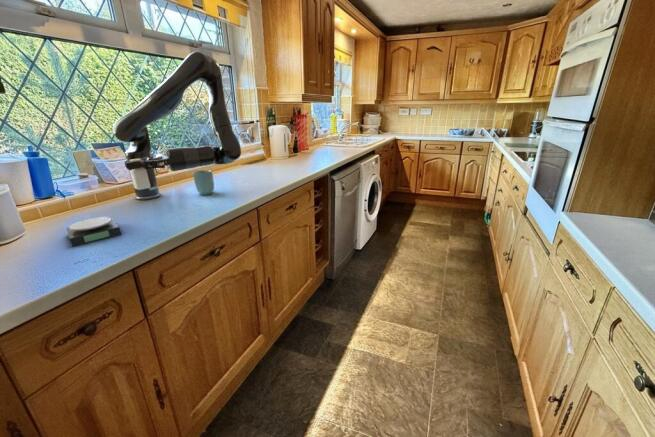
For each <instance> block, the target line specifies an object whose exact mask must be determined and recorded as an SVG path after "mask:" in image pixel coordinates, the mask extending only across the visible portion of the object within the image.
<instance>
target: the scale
mask: <svg viewBox="0 0 655 437" xmlns="http://www.w3.org/2000/svg"><path fill="white" fill-rule="evenodd" d="M65 230H66V232H67V236H68V238H69V241H70V243H71V246H72V247H77V246H81V245H84V244H89V243H93V242H97V241H101V240H104V239H108V238H112V237H117V236H119V235H122V232H121V228H120V226H119V225H118V224H117V222H116V220H114V219H113V217H108V216H98V217H91V218H87V219H83V220H80V221H77V222H74V223H73V224H71V225H69V227H68V226H67V227H66V229H65Z"/></svg>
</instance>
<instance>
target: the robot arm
mask: <svg viewBox="0 0 655 437" xmlns="http://www.w3.org/2000/svg"><path fill="white" fill-rule="evenodd" d="M197 81H200V82H202V83H204V85H205V87H206V89H207V90H206V91H207V92H208V97H209V103H208V105H209V106H208V119H209V122H210V126H211V129H212V132H213V135H214V136H215V138H216V139H218V141H219V144H220V146H210V145H202V146H201V145H200V146H199V145H198V146H183V147H181V146H180V147H173V148H167V149H166V150H165V154H166V155H165V156H163V155H162V154H154V155H152V145H151V139H150V138H151V137H150V133H149V129H148V125H150V124H153V123H155V122H158V121H160V120H161V119H164V118H165V117H168V116H169V115H171V114H172V113H173V112H174V111H176V110H177V108H178V107H180V105H181V103H182V101H183V98H184V95H185V92H186V90H187V89H188V88H189V87H190V86H192V84H194V83H196V82H197ZM112 133H113V135H114V137H115V139H117V140H118V141H120V142H124V143H130V146H129V148H128V149H127V150H126V151H125V152H124V156H125V161H124V166H125V168H126V169H127V170H128V172H129V175H130V179H131V183H132V187H133V189H134V195H135V199H136V200H139V201H141V200H143V201H144V200H151V199H155V198H158V197H160V196H161V192H160V189H159V185H158V184H159V183H158V180H157V176H156V172H155V169H165V168H166V166H168V167H169V170H170V171H172V172H176V171H185V170H191V169H196V168H200V167H206V166H211V165H218V166H219V165H227V164H228V165H230V164H233V163H234V162H236V161H237V160H238V159H240V157H241V156H242V147H241V145H240V141H239V139H238V137H237V135H236V134H235V132H234V129H233V126H232V123H231V119H230V116H229V112H228V108H227V104H226V99H225V92H224V84H223V77H222V71H221V67H220V64H219V63H218V61H217V60H216V59H214V58H213V57H211V56H209V55H208V54H206V53H203V52H200V51H193V52H191V53H190V54H188V55H187V56H186V57H185V58H184V59H183V61H181V63H180V64H179V65H178V67H177V68H175V70H174V71H173V72H172V73H171V74H170V75H169V76H168V77H167V78H166V79H165V80H164V81H163V82H162V83H160V84H159V85H158V86H156V88H155V89H153V90H152V91H151V92H150V93H149V94H148V95H146V97H145V98H143V100H141V101H140V102H139V103H138V104H137V105H136V106H135V107H134V108H133V109H131V110H130V111H129V112H127V113H126V114H124V115H122V116H121V117H119V118H118V119H117V120H116V121H115V122H114V124H113V127H112ZM132 159H141V161H140V162H139V161H136V162H130V160H132ZM139 168H141V169H146V171H147V175H148V179H149V183H150V188H147V189H142V190H138V189H135V188H134V185H133V181H132V177H131V174H130V170H132V169H139Z"/></svg>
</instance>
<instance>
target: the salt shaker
mask: <svg viewBox="0 0 655 437" xmlns="http://www.w3.org/2000/svg"><path fill="white" fill-rule="evenodd" d="M136 161H139V162H140V161H141V159H132V160H130V162H136ZM130 174H131V175H130ZM129 175H130V178H131V177H132V179H131V182H132V181H133V183H132V186H133V185H134V187H133V189H134V188H135V189H138V190H142V189H147V188H150V183H149V179H148V175H147V171H146V169H141V168H139V169H132V170H130V172H129Z"/></svg>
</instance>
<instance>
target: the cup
mask: <svg viewBox="0 0 655 437" xmlns="http://www.w3.org/2000/svg"><path fill="white" fill-rule="evenodd" d="M192 176H193V181H194V186H195V188H196V191H197V193H198V194H199V195H203V196H204V195H205V196H206V195H210V194H212V193H214V191H215V180H214V173H213V170H211V169H199V170H195V171H193V172H192Z"/></svg>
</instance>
